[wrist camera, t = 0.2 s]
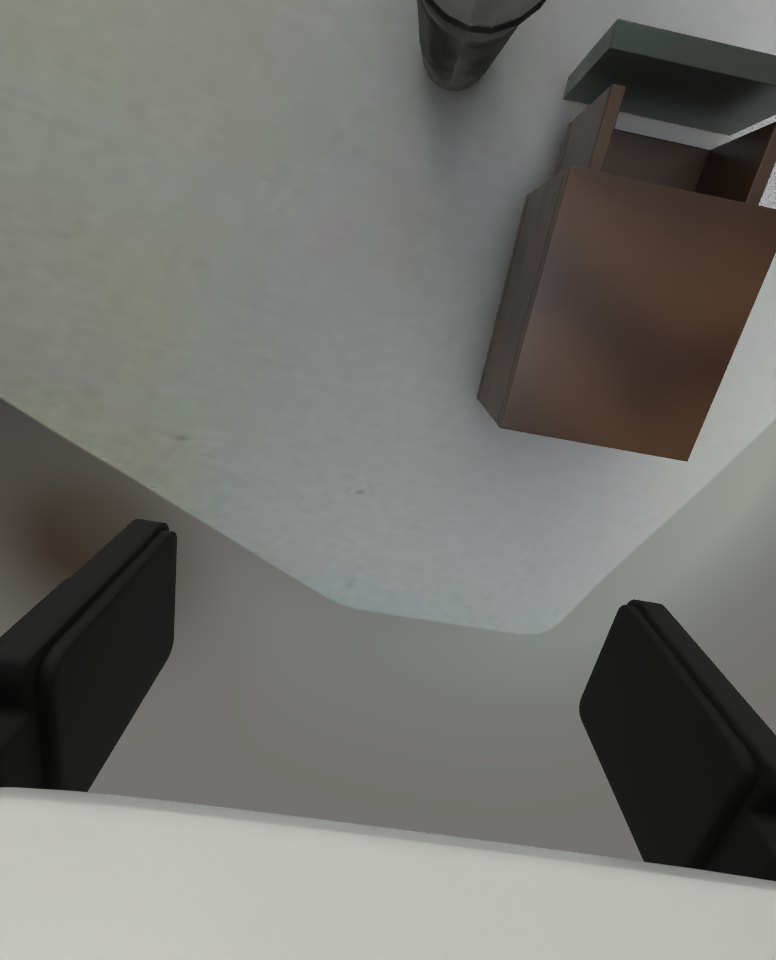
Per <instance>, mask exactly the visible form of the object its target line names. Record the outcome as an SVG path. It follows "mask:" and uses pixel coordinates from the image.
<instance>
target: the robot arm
mask: <svg viewBox="0 0 776 960" xmlns="http://www.w3.org/2000/svg"><path fill="white" fill-rule="evenodd" d="M176 550H177V536H176V533H175V532H172V531H169V528H168V525H167V524H166V523H161V522H155V521H149V520H143V519H135V520H134V521H132V522H131V523H130V524H129V525H128V526H127V527H126V528H124V529H123V530H122V531H121V532H120V533H119V534H118V535H117V536H116V537H114V538H113V539H112V540H111V541H110V542H109V543H108V544H107V545H106V546H104V547H103V548H102V549H101V550H100V551H99V552H98V553H97V554H96V555H94V556H93V557H92V558H91V559H90V560H89V561H88V562H87V563H86V564H85V565H83V566H82V567H81V568H80V569H79V570H78V571H77V572H76V573H75V574H73V575H72V576H71V577H69V578H67V579H66V580H64V581H63V582H62V583H61V584H59V585H58V586H57V587H56V588H55V589H54V590H53V591H52V592H51V593H49V594H48V595H47V596H46V597H45V598H44V599H43V600H42V601H40V602H39V603H38V604H37V605H36V606H35V607H34V608H33V609H32V610H30V611H29V612H28V613H27V614H26V615H25V616H24V617H22V618H21V619H20V620H19V621H18V622H17V623H16V624H15V625H13V626H12V627H11V628H10V629H9V630H8V631H7V632H6V633H4V635H2V636H1V637H0V960H776V735H775V734H774V733H773V732H772V731H771V729H770V728H769V727H768V726H767V725H766V724H765V723H764V721H763V720H762V719H761V718H760V717H759V715H757V713H756V712H755V711H754V710H753V709H752V707H751V706H750V705H749V704H748V703H747V702H746V701H745V699H744V698H743V697H742V696H741V695H740V693H739V692H738V691H737V690H736V689H735V688H734V686H733V685H732V684H731V683H730V682H729V681H728V680H727V679H726V677H725V676H724V675H723V674H722V673H721V672H720V670H719V669H718V668H717V667H716V666H715V664H714V663H713V662H712V661H711V660H710V659H709V657H708V656H707V655H706V654H705V653H704V652H703V651H702V649H701V648H700V647H699V646H698V645H697V644H696V642H695V641H694V640H693V639H692V638H691V637H690V635H689V634H688V633H687V632H686V631H685V630H684V629H683V627H682V626H681V625H680V624H679V623H678V621H677V620H676V619H675V618H674V617H673V616H672V615H671V613H670V612H669V611H668V610H667V609H666V608H665V607H664V606H663V605H662V604H657V603H652V602H645V601H640V600H631V601H630V602H629V603H628V604H627V605H623V606H621V607H620V608H619V610H618V612H617V614H616V616H615V619H614V621H613V624H612V626H611V629H610V631H609V633H608V636H607V638H606V640H605V643H604V645H603V648H602V650H601V652H600V655H599V657H598V659H597V662H596V664H595V666H594V669H593V671H592V674H591V676H590V678H589V681H588V683H587V686H586V688H585V691H584V693H583V695H582V697H581V700H580V706H579V709H580V710H579V712H580V717H581V720H582V722H583V725H584V727H585V729H586V731H587V734H588V736H589V738H590V740H591V743H592V745H593V747H594V750H595V752H596V754H597V756H598V759H599V761H600V763H601V765H602V768H603V770H604V772H605V774H606V777H607V779H608V781H609V783H610V786H611V788H612V790H613V793H614V795H615V797H616V799H617V802H618V804H619V806H620V808H621V811H622V813H623V815H624V817H625V819H626V822H627V824H628V826H629V829H630V831H631V833H632V835H633V838H634V840H635V842H636V844H637V847H638V849H639V851H640V854H641V856H642V858H643V860H644V862H641V861H634V860H625V859H619V858H612V857H604V856H597V855H589V854H582V853H575V852H567V851H560V850H553V849H545V848H538V847H530V846H523V845H515V844H507V843H500V842H492V841H485V840H477V839H469V838H462V837H454V836H447V835H438V834H431V833H423V832H415V831H407V830H400V829H392V828H385V827H376V826H369V825H361V824H353V823H346V822H337V821H329V820H321V819H313V818H305V817H297V816H289V815H281V814H273V813H265V812H257V811H249V810H240V809H232V808H224V807H216V806H208V805H200V804H192V803H184V802H174V801H165V800H155V799H145V798H136V797H126V796H117V795H108V794H98V793H89V792H88V790H89V788H90V787H91V785H92V783H93V782H94V780H95V778H96V777H97V775H98V773H99V772H100V770H101V768H102V767H103V765H104V763H105V762H106V760H107V759H108V757H109V755H110V754H111V752H112V750H113V749H114V747H115V745H116V744H117V742H118V740H119V739H120V737H121V735H122V733H123V732H124V730H125V728H126V727H127V725H128V724H129V722H130V720H131V719H132V717H133V715H134V714H135V712H136V710H137V709H138V707H139V705H140V704H141V702H142V700H143V699H144V697H145V695H146V694H147V692H148V691H149V689H150V687H151V686H152V684H153V682H154V681H155V679H156V677H157V676H158V674H159V672H160V671H161V669H162V667H163V666H164V664H165V662H166V661H167V659H168V657H169V655H170V653H171V650H172V646H173V641H174V615H175V613H174V612H175V584H176V553H177V551H176Z"/></svg>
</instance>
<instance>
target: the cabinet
mask: <svg viewBox="0 0 776 960" xmlns="http://www.w3.org/2000/svg"><path fill="white" fill-rule="evenodd" d="M775 253H776V209H772V208H768V207H763V206H758V205H754V204H749V203H744V202H740V201H735V200H730V199H726V198H721V197H716V196H711V195H707V194H702V193H697V192H693V191H688V190H683V189H679V188H674V187H669V186H665V185H660V184H655V183H651V182H646V181H641V180H637V179H632V178H627V177H623V176H618V175H613V174H609V173H604V172H599V171H594V170H590V169H585V168H580V167H576V166H569V167H568V168H567V169H566V170H564V171H563V172H561V173H560V174H558V175H557V176H555V177H554V178H552V179H551V180H549V181H548V182H546V183H545V184H544V185H542V186H541V187H539V188H538V189H536V190H535V191H533V192H532V193H530V194H528V195H527V197H526V201H525V205H524V209H523V213H522V217H521V221H520V225H519V229H518V233H517V237H516V241H515V245H514V249H513V253H512V257H511V261H510V265H509V269H508V273H507V278H506V282H505V286H504V290H503V294H502V298H501V302H500V306H499V310H498V314H497V318H496V322H495V326H494V330H493V334H492V338H491V342H490V346H489V350H488V354H487V358H486V362H485V366H484V370H483V374H482V378H481V382H480V386H479V391H478V395H477V399H478V400H479V401H480V403H481V404H482V405H483V407H484V408H485V409H486V410H487V412H488V413H489V414H490V416H491V417H492V418H493V419H494V421H495V422H496V423H497V425H498V426H499V427H500V428H503V429H509V430H515V431H520V432H526V433H531V434H537V435H542V436H548V437H554V438H559V439H565V440H570V441H576V442H581V443H587V444H593V445H598V446H604V447H609V448H615V449H620V450H626V451H632V452H637V453H643V454H648V455H654V456H659V457H665V458H671V459H676V460H682V461H688V458H689V456H690V454H691V451H692V449H693V447H694V444H695V442H696V439H697V437H698V435H699V432H700V430H701V428H702V425H703V423H704V421H705V418H706V416H707V413H708V411H709V409H710V406H711V404H712V402H713V399H714V397H715V395H716V392H717V390H718V387H719V385H720V383H721V380H722V378H723V376H724V373H725V371H726V369H727V366H728V364H729V361H730V359H731V357H732V354H733V352H734V350H735V347H736V345H737V343H738V340H739V338H740V335H741V333H742V331H743V328H744V326H745V324H746V321H747V319H748V317H749V314H750V312H751V309H752V307H753V305H754V302H755V300H756V298H757V295H758V293H759V291H760V288H761V286H762V283H763V281H764V279H765V276H766V274H767V272H768V269H769V267H770V264H771V262H772V260H773V257H774V255H775Z"/></svg>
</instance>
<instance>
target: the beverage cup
mask: <svg viewBox="0 0 776 960" xmlns="http://www.w3.org/2000/svg"><path fill="white" fill-rule="evenodd" d="M545 1H546V0H417V2H418V18H419V34H420V44H421V50H422V56H423V62H424V66H425V68H426V70H427V72H428V74H429V76H430V77H431V78H432V79H433V81H434V82H435V83H436V84H437V85H439V86H441V87H443V88H445V89H447V90H457V91H459V90H462V89H465V88H468V87H470V86H471V85H473V84H474V83H475V82H477V81H478V80H479V79H480V77H481V76H482V75H483V74H484V73H485V72H486V71H487V69H488V68H489V66H490V65H491V64H492V62H493V61H494V59H495V58H496V57H497V55H498V54H499V52H500V51H501V49H502V48H503V47H504V45H505V44H506V42H507V41H508V39H509V38H510V36H511V35H512V34H513V32H514V31H515V29H516V28H517V26H518V25H519V24H521V23H522V22H523V21H524V20H525V19H527V18H528V17H529V16H531V15H532V14H533V13H535V12H536V11H537V10H539V9H540V8H541V6H542V5H543V3H544V2H545Z"/></svg>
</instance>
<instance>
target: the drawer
mask: <svg viewBox="0 0 776 960" xmlns="http://www.w3.org/2000/svg"><path fill="white" fill-rule="evenodd" d="M563 99H566V100H571V101H575V102H580V103H584V104H589V106H588V107H587V108H586V109H585V110H584V111H583V112H581V113H580V114H579V115H578V116H577V117H576V118H575V119H574V120H573V121H572V122H571V123H569V125H568V129H567V133H566V137H565V141H564V144H563V148H562V152H561V156H560V160H559V163H558V167H557V171H556V175H555V176H557V175H558V174H560V173H561V172H563V171H564V170H566V169H567V168H568V167H569V166H576V167H580V168H585V169H590V170H594V171H599V172H604V173H609V174H613V175H618V176H623V177H627V178H632V179H637V180H641V181H646V182H651V183H655V184H660V185H665V186H669V187H674V188H679V189H683V190H688V191H693V192H697V193H702V194H707V195H711V196H716V197H721V198H726V199H730V200H735V201H740V202H744V203H749V204H754V205H759V202H760V200H761V197H762V195H763V192H764V190H765V187H766V185H767V182H768V180H769V177H770V175H771V172H772V170H773V167H774V164H775V162H776V122H774V123H772V124H769V125H767V126H765V127H762V128H760V129H758V130H755V131H753V132H751V133H748V134H746V135H744V136H742V137H739V138H737V139H735V140H732V141H730V142H728V143H725V144H723V145H721V146H719V147H716V148H714V149H712V150H707V149H703V148H698V147H694V146H689V145H684V144H680V143H675V142H671V141H666V140H662V139H657V138H652V137H648V136H643V135H639V134H634V133H630V132H625V131H621V130H616V129H614V127H615V124H616V120H617V117H618V114H619V111H621V112H625V113H630V114H634V115H639V116H643V117H648V118H652V119H657V120H661V121H666V122H670V123H675V124H679V125H684V126H688V127H693V128H697V129H702V130H706V131H711V132H715V133H720V134H724V135H729V136H730V135H732V134H734V133H736V132H739V131H741V130H743V129H745V128H747V127H750V126H752V125H754V124H756V123H758V122H761V121H763V120H765V119H767V118H770V117H772V116H774V115H776V56H775V55H771V54H767V53H762V52H758V51H754V50H750V49H745V48H741V47H737V46H732V45H728V44H724V43H720V42H715V41H711V40H707V39H702V38H698V37H694V36H690V35H685V34H681V33H677V32H672V31H668V30H664V29H660V28H655V27H651V26H647V25H642V24H638V23H634V22H630V21H625V20H621V19H617V20H616V21H615V23H614V24H613V25H612V26H611V27H610V29H609V30H608V31H607V32H606V33H605V34H604V36H603V37H602V38H601V39H600V40H599V42H598V43H597V44H596V45H595V46H594V48H593V49H592V50H591V51H590V52H589V53H588V55H587V56H586V57H585V58H584V59H583V61H582V62H581V63H580V64H579V65H578V67H577V68H576V69H575V70H574V71H573V73H572V74H571V75H570V76H569V78H568V82H567V86H566V90H565V94H564V98H563Z"/></svg>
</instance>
